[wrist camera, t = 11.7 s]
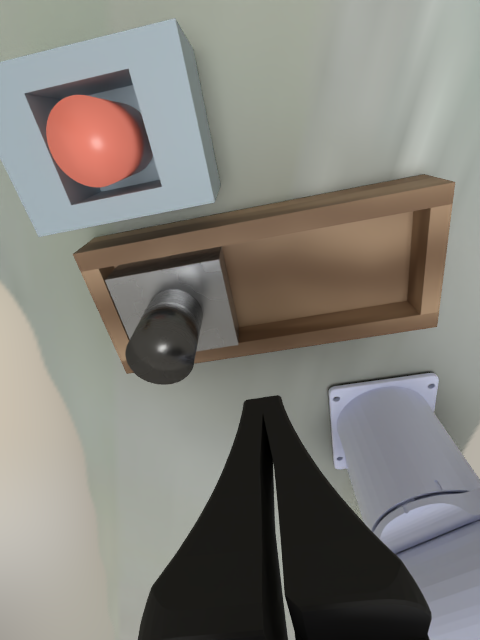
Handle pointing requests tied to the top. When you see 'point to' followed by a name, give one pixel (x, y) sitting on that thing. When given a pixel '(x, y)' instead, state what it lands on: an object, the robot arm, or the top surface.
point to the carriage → (174, 311)
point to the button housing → (120, 86)
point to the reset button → (97, 140)
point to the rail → (305, 265)
